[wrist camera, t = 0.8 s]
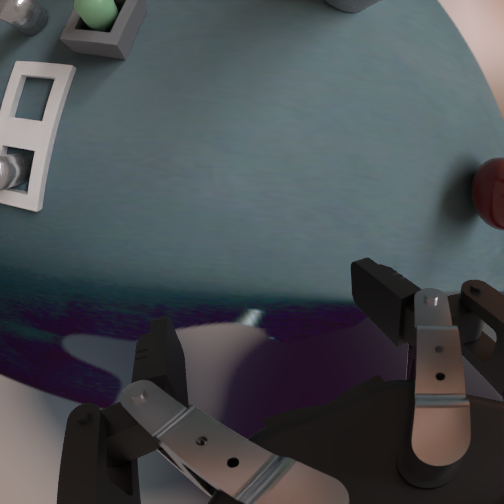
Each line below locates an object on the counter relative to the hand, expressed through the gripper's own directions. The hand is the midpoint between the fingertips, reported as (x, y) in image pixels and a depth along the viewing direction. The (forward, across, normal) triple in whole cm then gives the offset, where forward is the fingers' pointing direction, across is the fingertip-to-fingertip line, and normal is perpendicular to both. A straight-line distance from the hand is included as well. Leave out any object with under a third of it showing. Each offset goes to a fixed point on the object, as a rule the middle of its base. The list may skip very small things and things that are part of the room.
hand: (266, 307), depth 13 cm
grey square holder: (+26, +7, -24) cm, 36 cm away
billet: (+26, +18, -30) cm, 44 cm away
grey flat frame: (+26, +21, -15) cm, 36 cm away
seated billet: (+26, +23, -11) cm, 36 cm away
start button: (+22, +7, -24) cm, 34 cm away
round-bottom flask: (+27, -49, +8) cm, 57 cm away
